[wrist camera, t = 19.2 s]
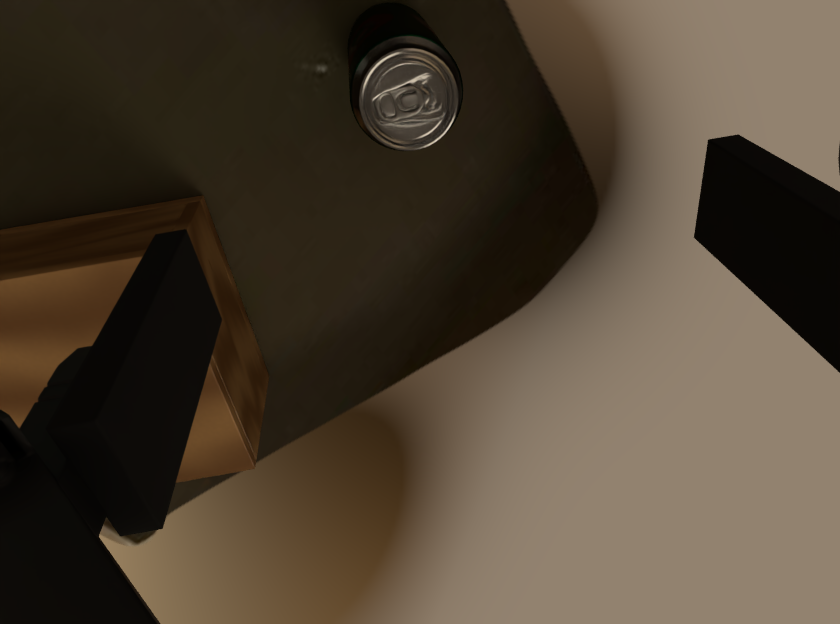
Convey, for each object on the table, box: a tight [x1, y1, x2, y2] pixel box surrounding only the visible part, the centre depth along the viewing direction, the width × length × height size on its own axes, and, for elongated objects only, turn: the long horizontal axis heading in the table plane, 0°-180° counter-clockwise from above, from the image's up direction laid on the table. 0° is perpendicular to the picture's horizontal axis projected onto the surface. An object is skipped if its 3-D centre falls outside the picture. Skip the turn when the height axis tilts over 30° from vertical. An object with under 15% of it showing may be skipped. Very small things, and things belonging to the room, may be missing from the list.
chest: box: [0, 195, 269, 458], centre depth 40 cm, size 16×14×9 cm
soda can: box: [348, 3, 463, 151], centre depth 31 cm, size 5×5×12 cm
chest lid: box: [0, 250, 256, 483], centre depth 36 cm, size 17×14×1 cm
